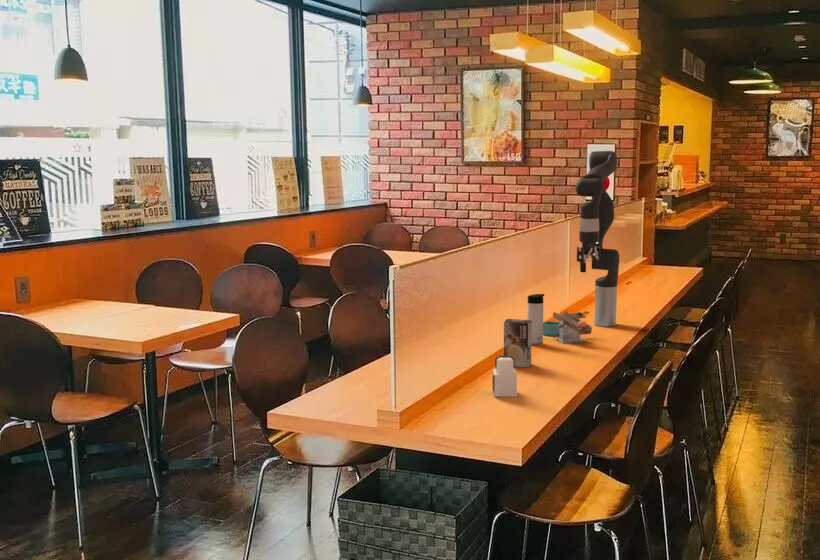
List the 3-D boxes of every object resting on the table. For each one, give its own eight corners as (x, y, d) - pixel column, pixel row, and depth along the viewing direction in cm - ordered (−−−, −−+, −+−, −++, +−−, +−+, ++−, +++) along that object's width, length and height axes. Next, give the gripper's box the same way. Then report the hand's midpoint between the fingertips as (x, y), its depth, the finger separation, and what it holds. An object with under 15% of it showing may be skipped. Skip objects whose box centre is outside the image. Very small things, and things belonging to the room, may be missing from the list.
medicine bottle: (492, 390, 274) (492, 354, 272) (514, 390, 274) (515, 354, 272) (493, 397, 267) (494, 359, 265) (516, 397, 267) (517, 359, 265)
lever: (580, 316, 353) (580, 309, 353) (606, 332, 337) (607, 325, 336) (552, 318, 348) (553, 312, 348) (578, 335, 332) (578, 328, 331)
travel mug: (543, 346, 334) (544, 295, 331) (526, 345, 336) (526, 295, 332) (544, 342, 340) (544, 292, 337) (527, 341, 342) (528, 292, 338)
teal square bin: (546, 331, 361) (547, 320, 360) (563, 333, 357) (564, 322, 356) (539, 334, 354) (539, 323, 354) (556, 336, 350) (556, 325, 349)
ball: (579, 322, 337) (582, 317, 334) (585, 327, 336) (589, 322, 334) (575, 326, 335) (578, 322, 332) (581, 331, 334) (585, 327, 332)
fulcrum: (578, 338, 347) (578, 317, 346) (586, 341, 342) (587, 320, 341) (554, 340, 343) (555, 319, 342) (562, 343, 338) (563, 322, 336)
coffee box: (532, 363, 308) (532, 319, 305) (528, 368, 302) (529, 323, 299) (507, 361, 311) (507, 318, 308) (502, 365, 305) (503, 321, 302)
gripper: (590, 227, 342) (589, 267, 345) (571, 231, 331) (570, 272, 334) (607, 228, 337) (606, 269, 340) (588, 232, 326) (587, 274, 329)
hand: (588, 270), depth 337 cm, fingers open, 8 cm apart
